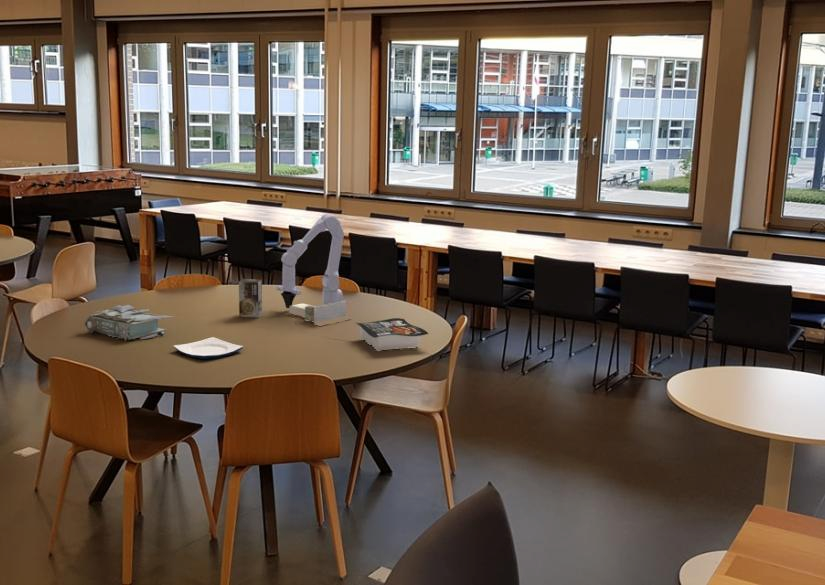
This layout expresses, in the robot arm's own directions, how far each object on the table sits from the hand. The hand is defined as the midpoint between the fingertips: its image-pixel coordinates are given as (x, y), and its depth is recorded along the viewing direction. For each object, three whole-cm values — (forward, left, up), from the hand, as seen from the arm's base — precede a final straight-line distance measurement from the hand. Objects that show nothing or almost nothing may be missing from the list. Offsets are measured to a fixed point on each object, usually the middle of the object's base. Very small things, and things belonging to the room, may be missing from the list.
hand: (288, 307), depth 387 cm
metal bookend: (+1, +29, -1) cm, 29 cm away
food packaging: (+9, +70, -2) cm, 70 cm away
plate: (+68, +30, -2) cm, 74 cm away
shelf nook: (0, +23, -1) cm, 23 cm away
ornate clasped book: (+74, -14, -2) cm, 75 cm away
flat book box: (0, +11, -2) cm, 11 cm away
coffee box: (+19, -4, -2) cm, 19 cm away
